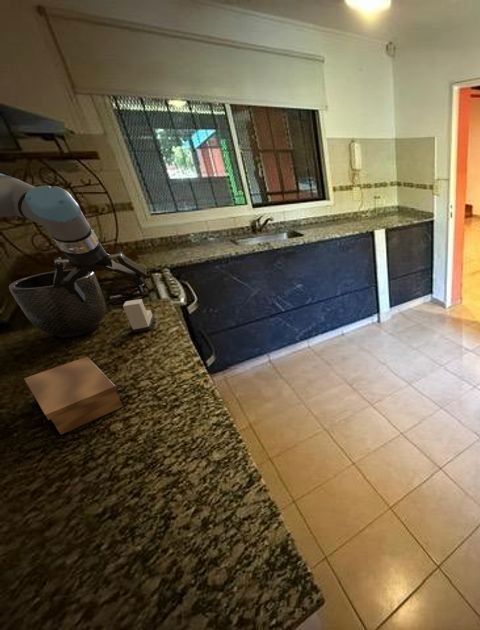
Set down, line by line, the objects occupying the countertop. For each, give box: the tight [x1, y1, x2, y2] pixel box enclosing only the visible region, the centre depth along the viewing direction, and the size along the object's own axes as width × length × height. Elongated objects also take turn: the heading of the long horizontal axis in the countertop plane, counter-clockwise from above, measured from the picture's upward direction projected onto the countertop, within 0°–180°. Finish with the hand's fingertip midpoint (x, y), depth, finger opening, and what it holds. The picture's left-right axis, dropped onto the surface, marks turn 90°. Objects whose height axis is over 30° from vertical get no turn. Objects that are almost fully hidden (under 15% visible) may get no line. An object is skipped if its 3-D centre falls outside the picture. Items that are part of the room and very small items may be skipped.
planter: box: [8, 268, 107, 339], centre depth 114 cm, size 20×20×19 cm
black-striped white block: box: [122, 298, 155, 334], centre depth 119 cm, size 10×5×10 cm, turn 28°
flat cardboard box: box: [23, 356, 124, 435], centre depth 83 cm, size 12×22×6 cm, turn 54°
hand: (113, 294), depth 103 cm, fingers open, 13 cm apart
